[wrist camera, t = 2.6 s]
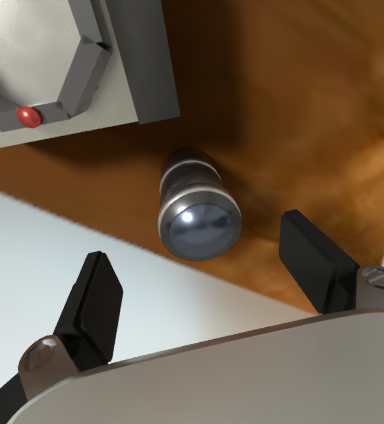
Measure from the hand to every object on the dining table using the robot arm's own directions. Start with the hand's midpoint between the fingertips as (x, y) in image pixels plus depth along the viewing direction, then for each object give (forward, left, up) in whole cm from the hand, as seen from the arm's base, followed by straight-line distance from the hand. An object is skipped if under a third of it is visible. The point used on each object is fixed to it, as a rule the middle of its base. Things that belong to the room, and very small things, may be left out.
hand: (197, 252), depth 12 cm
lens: (0, -1, -9) cm, 9 cm away
